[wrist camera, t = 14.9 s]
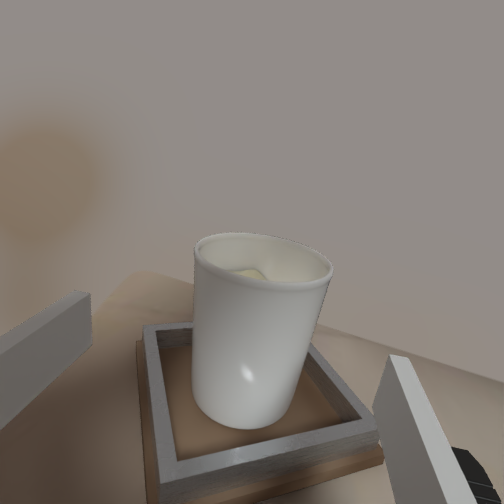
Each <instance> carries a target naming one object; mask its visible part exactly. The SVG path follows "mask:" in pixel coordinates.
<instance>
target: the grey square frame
mask: <svg viewBox="0 0 504 504" xmlns="http://www.w3.org/2000/svg"><path fill="white" fill-rule="evenodd" d="M192 326H193V322H182V323H168V324H154V325H143V334H142V348H143V358H144V368H145V378H146V388H147V398H148V408H149V418H150V428H151V438H152V448H153V458H154V469H155V479H156V489H157V499H158V504H181V503H185V502H189V501H192V500H196V499H199V498H203V497H206V496H210V495H214V494H217V493H221V492H224V491H228V490H231V489H235V488H239V487H242V486H246V485H249V484H253V483H256V482H260V481H264V480H267V479H271V478H274V477H278V476H281V475H285V474H289V473H292V472H296V471H299V470H303V469H306V468H310V467H314V466H317V465H321V464H324V463H328V462H331V461H335V460H339V459H342V458H346V457H349V456H353V455H356V454H360V453H364V452H367V451H371V450H374V449H376V447H377V445H378V442H379V439H380V437H379V433H378V429H377V425H376V421H375V417H374V416H373V415H372V414H371V412H370V411H369V410H368V409H367V408H366V407H365V405H364V404H363V403H362V402H361V401H360V400H359V398H358V397H357V396H356V395H355V394H354V393H353V391H352V390H351V389H350V388H349V387H348V385H347V384H346V383H345V382H344V381H343V380H342V378H341V377H340V376H339V375H338V374H337V373H336V371H335V370H334V369H333V368H332V367H331V366H330V364H329V363H328V362H327V361H326V360H325V359H324V357H323V356H322V355H321V354H320V353H319V352H318V350H317V349H316V348H315V347H314V346H313V344H312V343H310V346H309V349H308V352H307V356H306V359H305V362H304V365H303V369H304V370H305V372H306V373H307V374H308V376H309V377H310V378H311V380H312V381H313V382H314V384H315V385H316V386H317V388H318V389H319V391H320V392H321V393H322V395H323V396H324V397H325V399H326V400H327V401H328V403H329V404H330V406H331V407H332V408H333V410H334V411H335V412H336V414H337V415H338V416H339V418H340V419H341V421H342V422H343V424H339V425H334V426H330V427H325V428H321V429H317V430H312V431H308V432H304V433H299V434H295V435H291V436H286V437H282V438H278V439H273V440H269V441H265V442H260V443H256V444H252V445H247V446H243V447H239V448H234V449H230V450H226V451H221V452H217V453H213V454H208V455H204V456H200V457H195V458H191V459H187V460H182V461H178V462H177V458H176V452H175V446H174V440H173V434H172V428H171V422H170V416H169V410H168V404H167V398H166V392H165V386H164V380H163V374H162V368H161V362H160V356H159V350H158V349H160V348H171V347H181V346H191V345H192Z"/></svg>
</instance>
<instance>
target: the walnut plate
mask: <svg viewBox="0 0 504 504" xmlns="http://www.w3.org/2000/svg"><path fill="white" fill-rule="evenodd" d="M158 350H159V356H160V362H161V368H162V374H163V380H164V386H165V392H166V398H167V404H168V410H169V416H170V422H171V428H172V434H173V440H174V446H175V452H176V458H177V462H178V461H182V460H187V459H191V458H195V457H200V456H204V455H208V454H213V453H217V452H221V451H226V450H230V449H234V448H239V447H243V446H247V445H252V444H256V443H260V442H265V441H269V440H273V439H278V438H282V437H286V436H291V435H295V434H299V433H304V432H308V431H312V430H317V429H321V428H325V427H330V426H334V425H339V424H343V422H342V421H341V419H340V418H339V416H338V415H337V414H336V412H335V411H334V410H333V408H332V407H331V406H330V404H329V403H328V401H327V400H326V399H325V397H324V396H323V395H322V393H321V392H320V391H319V389H318V388H317V386H316V385H315V384H314V382H313V381H312V380H311V378H310V377H309V376H308V374H307V373H306V372H305V370H304V369H303V368H302V372H301V375H300V378H299V381H298V384H297V387H296V390H295V393H294V396H293V399H292V402H291V404H290V407H289V409H288V410H287V412H286V413H285V415H284V416H283V417H282V418H281V419H279V420H278V421H277V422H275V423H273V424H271V425H269V426H266V427H263V428H259V429H249V430H246V429H236V428H231V427H228V426H225V425H222V424H220V423H218V422H216V421H214V420H212V419H211V418H209V417H208V416H207V415H206V414H204V413H203V412H202V410H201V409H200V408H199V407H198V405H197V404H196V402H195V400H194V398H193V394H192V389H191V358H192V345H191V346H181V347H171V348H160V349H158ZM136 358H137V372H138V387H139V401H140V415H141V430H142V444H143V458H144V473H145V487H146V501H147V504H158V499H157V489H156V479H155V469H154V458H153V448H152V438H151V428H150V418H149V408H148V398H147V388H146V378H145V368H144V358H143V348H142V341H136ZM384 458H385V457H384V453H383V449H382V448H381V447H380V445H379V444H378V445H377V447H376V449H374V450H371V451H367V452H364V453H360V454H356V455H353V456H349V457H346V458H342V459H339V460H335V461H331V462H328V463H324V464H321V465H317V466H314V467H310V468H306V469H303V470H299V471H296V472H292V473H289V474H285V475H281V476H278V477H274V478H271V479H267V480H264V481H260V482H256V483H253V484H249V485H246V486H242V487H239V488H235V489H231V490H228V491H224V492H221V493H217V494H214V495H210V496H206V497H203V498H199V499H196V500H192V501H189V502H185V503H181V504H253V503H256V502H259V501H263V500H266V499H269V498H273V497H276V496H279V495H282V494H286V493H289V492H292V491H295V490H299V489H302V488H305V487H309V486H312V485H315V484H318V483H322V482H325V481H328V480H332V479H335V478H338V477H341V476H345V475H348V474H351V473H354V472H358V471H361V470H364V469H368V468H371V467H374V466H377V465H381V464H383V461H384Z"/></svg>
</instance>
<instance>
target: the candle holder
mask: <svg viewBox="0 0 504 504" xmlns="http://www.w3.org/2000/svg"><path fill="white" fill-rule="evenodd" d="M194 258H195V265H194V266H195V267H194V296H193V326H192V358H191V389H192V394H193V398H194V400H195V402H196V404H197V405H198V407H199V408H200V409H201V410H202V412H203V413H204V414H206V415H207V416H208V417H209V418H211V419H212V420H214V421H216V422H218V423H220V424H222V425H225V426H228V427H231V428H236V429H246V430H249V429H259V428H263V427H266V426H269V425H271V424H273V423H275V422H277V421H278V420H279V419H281V418H282V417H283V416H284V415H285V413H286V412H287V410H288V409H289V407H290V404H291V402H292V399H293V396H294V393H295V390H296V387H297V384H298V381H299V378H300V375H301V372H302V368H303V365H304V362H305V359H306V356H307V352H308V349H309V346H310V343H311V340H312V336H313V333H314V330H315V327H316V324H317V320H318V317H319V314H320V311H321V307H322V304H323V301H324V298H325V294H326V292H327V288H328V285H329V282H330V280H331V278H332V276H333V272H334V268H333V265H332V263H331V262H330V260H329V259H328V258H327V257H325V256H324V255H323V254H321V253H320V252H318V251H316V250H314V249H312V248H310V247H308V246H306V245H303V244H300V243H297V242H295V241H291V240H288V239H284V238H280V237H275V236H269V235H263V234H256V233H242V232H240V233H239V232H233V233H220V234H214V235H210V236H207V237H204V238H202V239H201V240H199V241H198V242H197V243H196V245H195V247H194Z"/></svg>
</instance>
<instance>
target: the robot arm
mask: <svg viewBox="0 0 504 504" xmlns="http://www.w3.org/2000/svg"><path fill="white" fill-rule="evenodd" d="M90 297H91V295H90V293H86V292H81V291H77V290H74V291H73V292H71V293H70V294H68V295H66V296H65V297H63V298H61V299H60V300H58V301H57V302H55V303H54V304H52V305H50V306H49V307H47V308H45V309H44V310H42V311H41V312H39V313H37V314H36V315H34V316H33V317H31V318H29V319H28V320H27V321H25V322H23V323H21V324H20V325H18V326H17V327H15V328H14V329H12V330H10V331H9V332H7V333H6V334H4V335H2V336H1V337H0V430H1V429H2V428H4V427H5V426H6V425H7V424H8V423H9V422H10V421H11V420H12V419H13V418H14V417H15V416H16V415H17V414H19V413H20V412H21V411H22V410H23V409H24V408H25V407H26V406H27V405H28V404H29V403H30V402H31V401H33V400H34V399H35V398H36V397H37V396H38V395H39V394H40V393H41V392H42V391H43V390H44V389H45V388H47V387H48V386H49V385H50V384H51V383H52V382H53V381H54V380H55V379H56V378H57V377H58V376H59V375H60V374H62V373H63V372H64V371H65V370H66V369H67V368H68V367H69V366H70V365H71V364H72V363H73V362H74V361H76V360H77V359H78V358H79V357H80V356H81V355H82V354H83V353H84V352H85V351H86V350H87V349H88V348H90V347H91V346H92V322H91V298H90ZM372 409H373V413H374V417H375V421H376V425H377V429H378V433H379V437H380V441H381V445H382V449H383V453H384V457H385V461H386V466H387V470H388V474H389V478H390V482H391V486H392V490H393V494H394V498H395V502H396V504H501V500H500V498H499V496H498V494H497V492H496V490H495V489H493V485H492V483H491V481H490V479H489V478H488V476H487V474H486V472H485V470H484V468H483V467H482V466H481V465H480V464H479V462H478V461H477V460H476V459H475V458H474V457H473V456H472V455H471V454H470V453H469V451H468V450H463V449H459V448H455V447H450V445H449V442H448V440H447V438H446V436H445V434H444V432H443V430H442V428H441V426H440V423H439V421H438V419H437V417H436V415H435V413H434V411H433V409H432V407H431V404H430V402H429V400H428V398H427V396H426V394H425V392H424V390H423V388H422V385H421V383H420V381H419V379H418V377H417V375H416V373H415V371H414V369H413V366H412V364H411V362H410V360H409V358H406V357H401V356H396V355H391V354H389V356H388V359H387V362H386V365H385V368H384V371H383V374H382V378H381V381H380V384H379V387H378V390H377V393H376V396H375V399H374V402H373V406H372Z"/></svg>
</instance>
